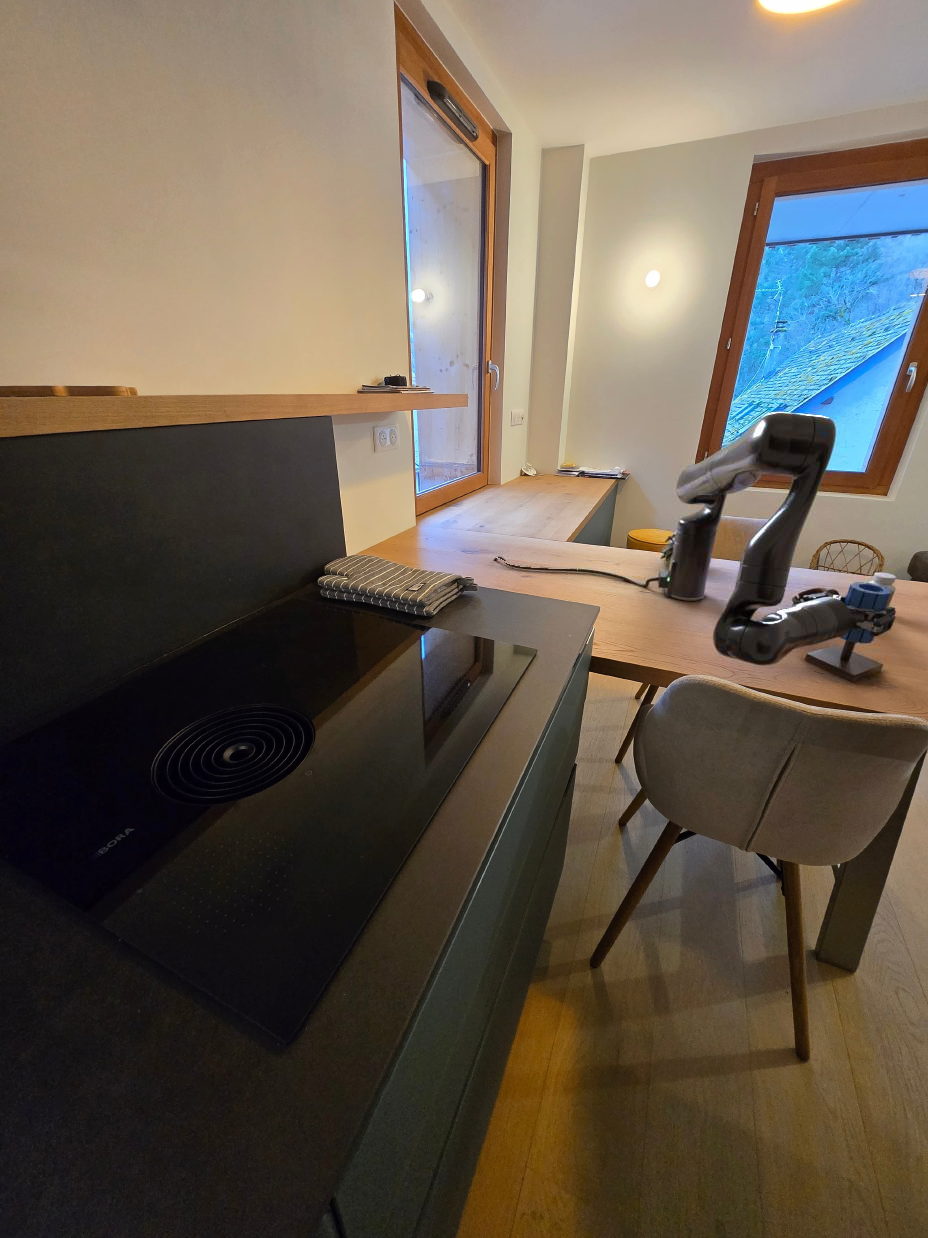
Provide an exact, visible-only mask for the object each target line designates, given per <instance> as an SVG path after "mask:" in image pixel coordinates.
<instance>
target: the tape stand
mask: <svg viewBox="0 0 928 1238" xmlns="http://www.w3.org/2000/svg"><path fill="white" fill-rule="evenodd" d="M856 644H857V643H855V642H850V641H848V640H844V643H843V646H841V645H838V644H835V643H834V644H832V645H829V646H826V647H823V648H820V649H817V650H814V651H811V652H807V653H806V655H805V659H804V661H806V662H808V663H811V664H812V665H814V666H817V667H819V668H821V669H823V670H824V671H825V670H826V671H827V672H830V673H831V674H834V675H836V676H838V677H841V678H842V679H845V680H846V681H849V682H855V681H859V680H861V679H864V678H865V677H869V676H871V675H873V674H877V673H879V672H881V671H882V669H883V667H884V664H883V663H881V662H878V661H876V660H874V659H871V658H869V657H867V656H864V655H862V654H860V653H857V652H855V651H854V649H855V647H856Z"/></svg>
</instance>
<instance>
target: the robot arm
mask: <svg viewBox="0 0 928 1238" xmlns="http://www.w3.org/2000/svg"><path fill="white" fill-rule="evenodd" d="M836 436H837V429H836V423H835V421H833V419H831V418H830V417H827V416H823V415H814V414H805V413H797V412H787V411H786V412H785V411H776V412H775V411H774V412H770V413H767V414H765V415H763V416H761V417H760V418H759V419H757V420H756V421H755V422H754V423H753V424H752V425H751V426H750V427H748V429H747V430H746V431H745V432H744V433H742V435H740V436H739V437H738V438H737V439H735V440H734V441H732V442H731V443H730V444H728V445H725V446H724V447H722V448H721V449H719V450H718V451H716V452H715V453H713V454H712V455H709V456H708V457H707V458H705V459H703V460H702V461H700V462H697V463H694V464H690V465H687V466H686V467H685V468H684V469H683V470H682V471H681V472H680V474H679V477H678V478H677V481H676V487H675V488H676V490H675V491H676V496H677V498H678V500H679V501H680V502H681V503H683V504H685V505H695V506H696V505H699V506H702V505H704V506H703V507H702V508H701V509H699V510H698V511H696V512H693V513H690V514H688V515H684V516H682V517H681V518H679V520H678V521H677V524H676V525H677V526H676V531H675V534H676V536H675V537H674V541H675V542H674V548H673V554H672V556H671V559H670V565H669V569H668V570H663V569H659V570H658V577H657V576H656V577H650V578H648V579H647V580H645V583H644V584H640V583H639V582H635V581H633V580H632V579H629V578H627V577H625V576H622V575H619V574H616V573H611V572H606V571H602V570H595V569H588V568H587V569H586V568H570V569H548V568H549V567H540V568H531V567H532V566H526V567H520V566H521V565H518V566H515V565H516V564H513V565H510V564H507V563H505V562H503V563H504V564H505V565H506V566H508V567H510V568H513V569H518V570H529V571H541V572H543V571H545V572H570V573H571V572H573V573H574V572H575V573H589V574H595V575H602V576H606V577H611V578H614V579H619V580H622V581H624V582H626V583H629V584H632V585H635V586H638V587H641V588H648V587H649V586H650V583H652V582H657V587H658V588H657V589H665V597H667V598H673V599H676V600H679V601H686V602H696V601H701V600H702V599H704V596H705V591H706V586H707V582H708V581H707V580H708V576H709V571H710V566H711V563H712V558H713V557H712V556H713V552H714V546H715V543H716V539H717V534H718V528H719V526H720V522H721V520H722V519H721V518H722V514H723V510H724V506H725V503H726V499H727V496H728V495H731V494H735V493H738V492H741V491H744V490H746V489H748V488H750V487H752V486H753V485H754V484H756V483H757V482H758V481H759V479H760V478H761V477H762V475H764V474H765V475H772V476H773V475H774V476H780V477H781V476H783V477H788V478H789V477H790V478H792V479H791V484H790V488H789V489H788V493H787V496H786V497H785V499H784V501H783V502H782V504H781V505H780V507H779V508H777V510H775V511H776V512H774V514H773V515H772V516H770V518H769V519H768V520H767V521H766V522H765V523H764V524H763V525H762V526H761V527H760V528H759V530H757V531H756V532H755V534H753V536H752V537H751V539H749V541H748V542H747V544H746V546H745V548H744V550H743V552H742V555H741V558H740V561H739V562H740V563H739V567H738V571H737V576H736V582H735V586H734V589H733V592H732V594H731V595H730V597H729V599H728V600H727V603H726V604H725V607H724V608H723V610H722V612H721V614H720V615H719V618H718V619H717V621H716V623H715V625H714V628H713V632H712V642H713V646H714V649H715V651H716V652H717V653H718V654H720V655H721V656H723V657H725V658H730V659H733V660H737V661H741V662H745V663H747V664H748V663H749V664H751V665H755V666H762V667H763V666H771V665H775V664H777V663H779V662H780V661H782V660H783V659H784V658H785V657H786V656H788V655H789V654H790V653H791V652H792V651H793V650H796V649H800V648H803V647H807V646H814V645H818V644H821V643H824V642H827V641H831V640H835V639H837V638H840V636H842V635H844V634H845V633H847V632H848V631H849V630H851V629H860V628H865V629H868V630H870V633H869V634H870V635H872V636H875V637H879V636H881V635H882V634H885V633H888V632H889V631H890V630H891V629H892V627H893V624H894V622H895V620H896V617H897V616H896V613H897V610H896V608H895V607H893V606H890V605H889V607H887V608H884V609H880V610H872V609H870V608H869V607H854V606H847V605H845V604H844V601H845V598H846V596H847V594H843V595H840V594H839V595H840V596H839V595H834V596H833V597H831V596H829V595H830V594H829V593H818V594H812V595H805V596H803V599H801V600H802V601H801V603H799V604H796V605H794V606H792V605H791V606H790V607H785V608H783V609H779V610H774V611H771V612H770V613H768V614H766V615H764V616H763V617H762V618H761V619H760V620H758V619H757V620H756V619H752V618H753V617H754V615H755V614H756V612H757V611H758V610H759V609H761V608H770V607H777V606H778V605H780V604H781V603H782V601H783V599H784V596H785V592H786V588H787V584H788V579H789V575H790V571H791V567H792V562H793V558H794V555H795V550H796V547H797V545H798V541H799V538H800V536H801V533H802V531H803V528H804V526H805V523H806V521H807V519H808V516H809V514H810V512H811V510H812V506H813V504H814V502H815V500H816V497H817V494H818V491H819V489H820V486H821V483H822V481H823V479H824V476H825V474H826V471H827V468H828V466H829V464H830V461H831V457H832V454H833V452H834V447H835V444H836ZM497 557H498V558H500V559H497V558H496V557H495V558H493V561H495V562H496V561H498V560H501V559H502V560H504V561H507V560H506V559H505V558H504V557H503V556H497ZM502 560H501V561H502ZM577 569H578V570H577ZM862 613H864V615H863V614H862ZM874 615H876V617H875V619H874V620H871V619H872V617H873V616H874Z"/></svg>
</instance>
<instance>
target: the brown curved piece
mask: <svg viewBox="0 0 928 1238" xmlns="http://www.w3.org/2000/svg"><path fill="white" fill-rule="evenodd" d="M818 593H829V594H830V595H829V596H831V597H833V596H834V595H839V596H841V594H840V593H839V591H838V590H836V589H834V588H831V589H827V588H826V587H813V588H809V589H805V590H803V591H801V592H799V593H797V595H795V596H793V597H792V598H791V601H792V605H791V606H794V605H796V604H799V603H801V601H802V599H803V596H805V595H812V594H818Z"/></svg>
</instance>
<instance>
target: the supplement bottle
mask: <svg viewBox="0 0 928 1238" xmlns="http://www.w3.org/2000/svg"><path fill="white" fill-rule="evenodd" d="M896 579H897V576H896V575H894V574H892V573H888V572H875V573H874V574H873V577H872V580H869V582H867V583H873V584H876V585H881V586H884V587H887V588H889V589H890V590H891V591H892V594H891V597H890V599H889V602H888V605H887V607H890V605H891V602H892V600H893V597H894V595H895V592H896V586H895V585H894V584H895V582H896ZM887 607H886V608H887Z"/></svg>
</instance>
